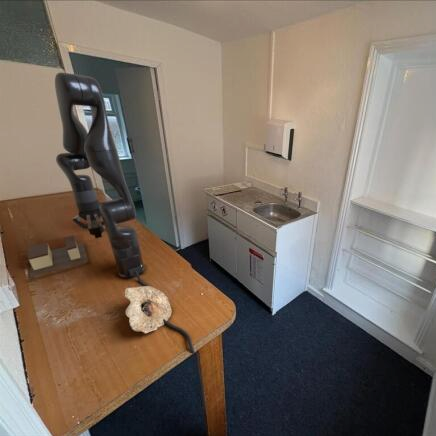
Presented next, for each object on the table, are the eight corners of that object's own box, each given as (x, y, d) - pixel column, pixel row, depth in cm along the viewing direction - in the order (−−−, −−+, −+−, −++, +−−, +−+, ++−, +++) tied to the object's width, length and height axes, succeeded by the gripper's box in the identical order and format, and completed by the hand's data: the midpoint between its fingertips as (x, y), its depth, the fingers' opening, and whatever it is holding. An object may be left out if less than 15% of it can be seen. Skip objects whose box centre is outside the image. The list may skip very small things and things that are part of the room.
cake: (52, 265, 99) (47, 253, 97) (33, 270, 96) (28, 258, 93) (51, 252, 107) (47, 241, 104) (34, 257, 103) (29, 245, 101)
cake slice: (80, 257, 105) (76, 246, 103) (71, 260, 103) (66, 248, 101) (77, 246, 113) (73, 235, 110) (68, 248, 111) (64, 237, 108)
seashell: (175, 330, 84) (181, 318, 81) (128, 349, 73) (133, 336, 69) (158, 290, 92) (163, 278, 89) (114, 302, 81) (118, 288, 78)
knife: (102, 236, 106) (98, 224, 104) (95, 238, 105) (91, 225, 102) (95, 220, 120) (91, 208, 117) (89, 221, 118) (85, 209, 115)
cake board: (89, 263, 104) (88, 261, 104) (31, 280, 93) (30, 277, 92) (84, 245, 117) (83, 242, 116) (32, 257, 105) (31, 254, 105)
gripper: (65, 205, 94) (78, 241, 101) (107, 198, 103) (117, 232, 110) (64, 199, 99) (77, 234, 106) (104, 194, 108) (113, 226, 115)
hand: (97, 233), depth 108 cm, fingers closed on knife, 2 cm apart
